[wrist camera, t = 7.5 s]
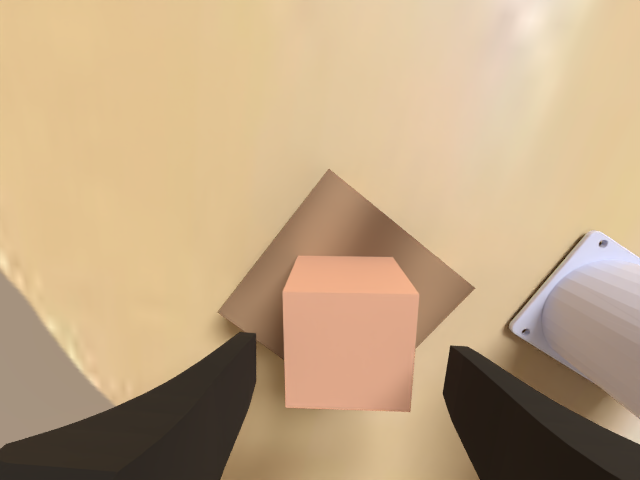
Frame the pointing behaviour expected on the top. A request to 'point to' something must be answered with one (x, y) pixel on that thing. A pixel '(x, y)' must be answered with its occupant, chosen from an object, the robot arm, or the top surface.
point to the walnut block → (339, 240)
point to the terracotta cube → (349, 334)
